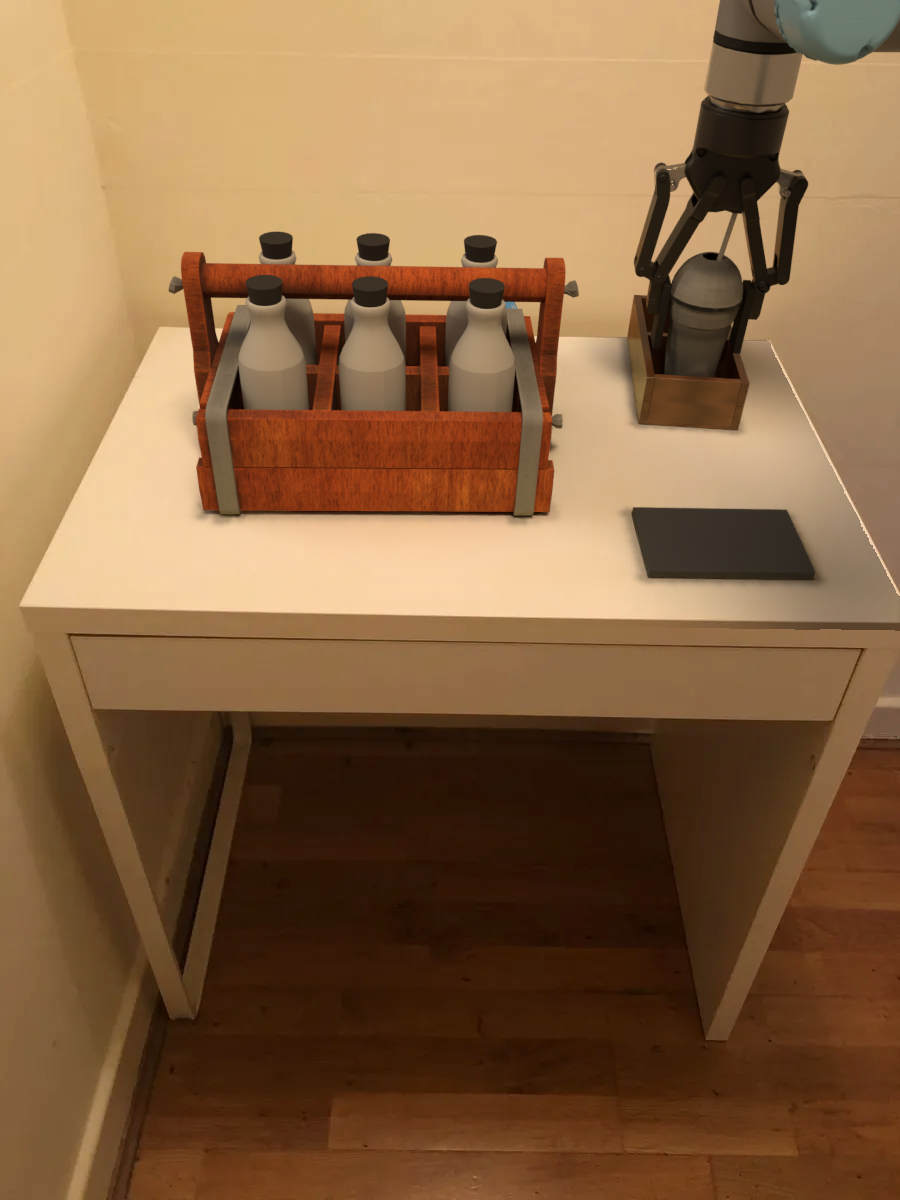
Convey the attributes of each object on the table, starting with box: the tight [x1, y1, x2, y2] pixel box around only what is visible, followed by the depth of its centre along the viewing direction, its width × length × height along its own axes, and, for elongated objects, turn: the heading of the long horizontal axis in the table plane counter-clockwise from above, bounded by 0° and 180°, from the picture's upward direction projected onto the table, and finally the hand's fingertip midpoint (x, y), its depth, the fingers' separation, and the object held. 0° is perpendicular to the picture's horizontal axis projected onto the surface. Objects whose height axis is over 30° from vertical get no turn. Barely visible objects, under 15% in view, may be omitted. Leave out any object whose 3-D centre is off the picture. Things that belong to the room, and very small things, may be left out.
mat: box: [631, 506, 817, 581], centre depth 85 cm, size 14×9×1 cm, turn 91°
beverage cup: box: [664, 213, 743, 378], centre depth 97 cm, size 7×7×20 cm
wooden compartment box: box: [626, 294, 751, 431], centre depth 106 cm, size 10×19×5 cm, turn 176°
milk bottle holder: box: [168, 231, 580, 516], centre depth 88 cm, size 21×35×19 cm, turn 92°
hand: (694, 344), depth 100 cm, fingers closed on beverage cup, 7 cm apart
